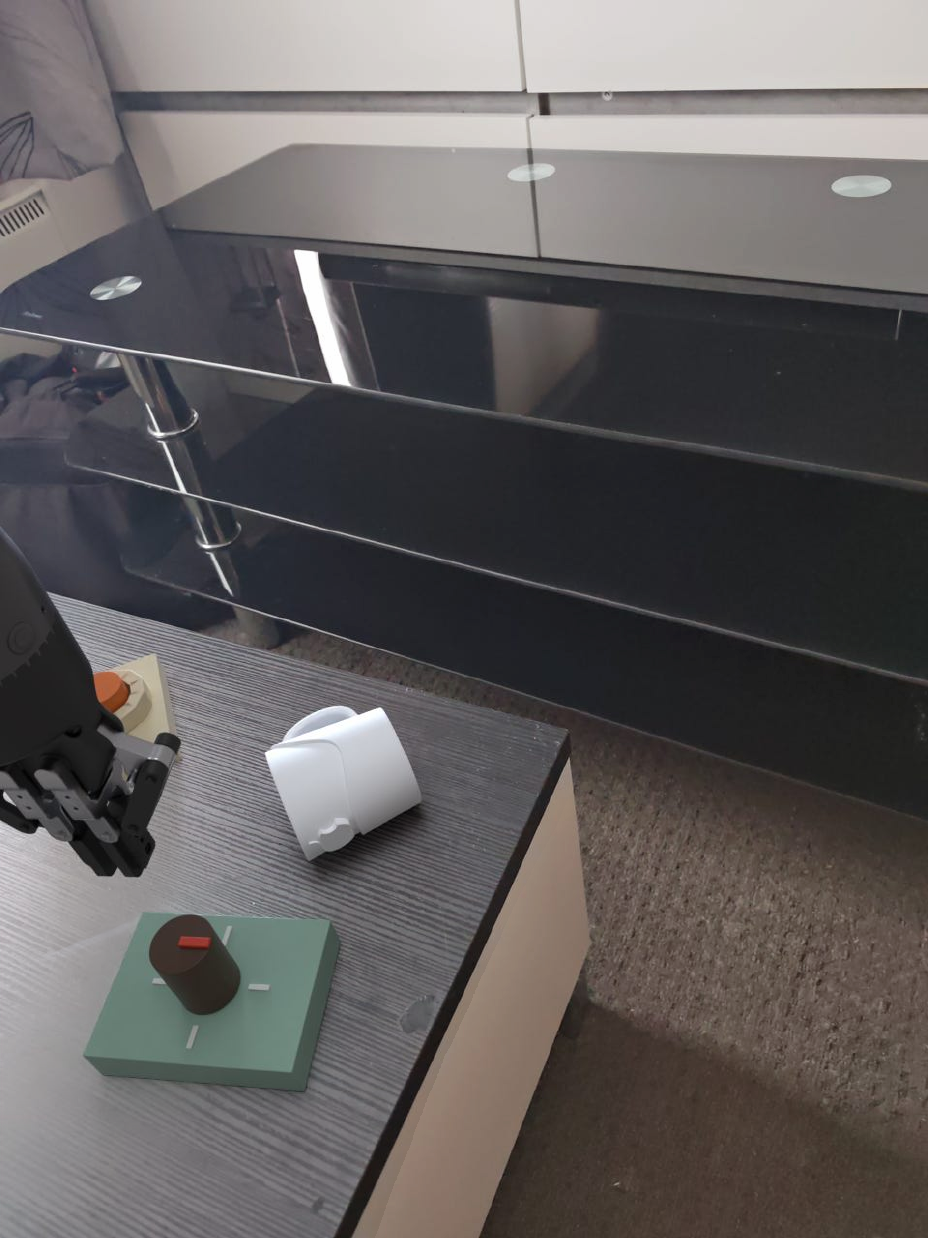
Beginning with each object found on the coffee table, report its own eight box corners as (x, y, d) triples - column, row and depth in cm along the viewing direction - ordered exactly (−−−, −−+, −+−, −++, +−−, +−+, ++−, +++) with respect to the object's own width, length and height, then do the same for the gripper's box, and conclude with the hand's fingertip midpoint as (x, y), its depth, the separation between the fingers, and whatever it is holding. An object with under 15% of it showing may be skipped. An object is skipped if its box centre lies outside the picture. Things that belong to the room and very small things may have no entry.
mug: (433, 829, 70) (413, 763, 64) (318, 883, 68) (288, 820, 63) (379, 727, 78) (358, 661, 73) (276, 772, 76) (246, 708, 71)
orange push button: (130, 708, 79) (122, 694, 78) (84, 725, 78) (75, 711, 77) (127, 678, 82) (119, 665, 81) (82, 694, 81) (73, 681, 80)
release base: (182, 760, 79) (162, 725, 76) (78, 799, 78) (54, 766, 75) (166, 672, 88) (148, 638, 85) (72, 706, 86) (51, 673, 83)
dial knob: (171, 1013, 59) (136, 970, 55) (193, 954, 62) (160, 909, 58) (229, 1017, 58) (197, 974, 54) (248, 957, 61) (219, 912, 57)
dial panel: (101, 1075, 60) (80, 1055, 58) (158, 932, 67) (141, 910, 65) (304, 1092, 57) (290, 1071, 55) (341, 941, 64) (330, 918, 62)
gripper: (142, 573, 40) (261, 808, 52) (-120, 584, 43) (48, 805, 55) (67, 700, 35) (218, 930, 46) (-227, 703, 38) (-15, 921, 49)
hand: (126, 862), depth 50 cm, fingers closed
